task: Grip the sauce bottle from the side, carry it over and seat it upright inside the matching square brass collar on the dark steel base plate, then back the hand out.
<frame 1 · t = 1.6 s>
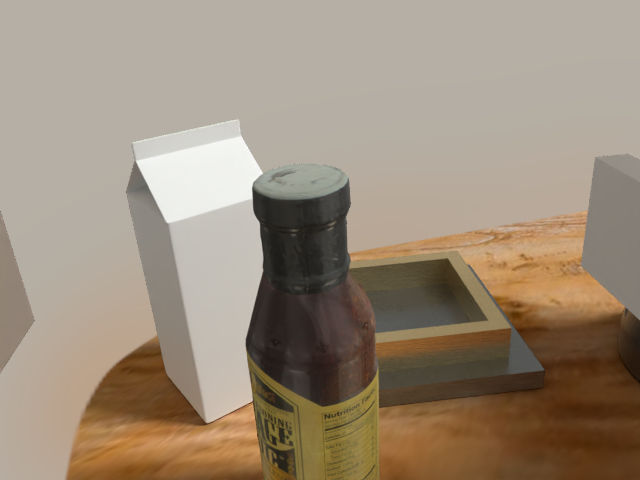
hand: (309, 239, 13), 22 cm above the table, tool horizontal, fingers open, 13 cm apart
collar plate: (403, 336, 48), on the table
milk carton: (229, 381, 45), on the table
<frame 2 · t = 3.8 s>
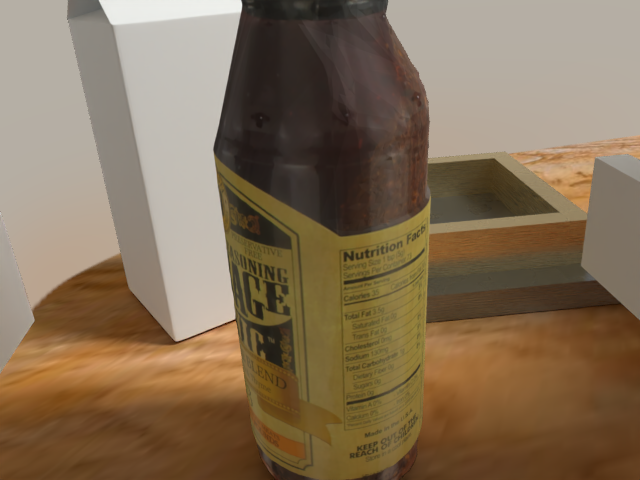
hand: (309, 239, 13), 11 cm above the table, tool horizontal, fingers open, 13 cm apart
sauce bottle: (340, 455, 22), on the table
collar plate: (439, 249, 37), on the table
milk carton: (210, 298, 34), on the table
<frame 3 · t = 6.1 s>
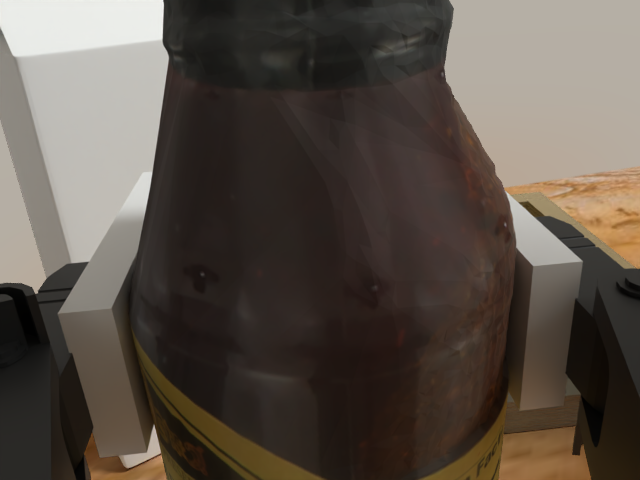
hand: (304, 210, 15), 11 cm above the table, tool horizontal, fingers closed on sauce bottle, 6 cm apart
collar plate: (465, 319, 30), on the table
milk carton: (179, 391, 27), on the table
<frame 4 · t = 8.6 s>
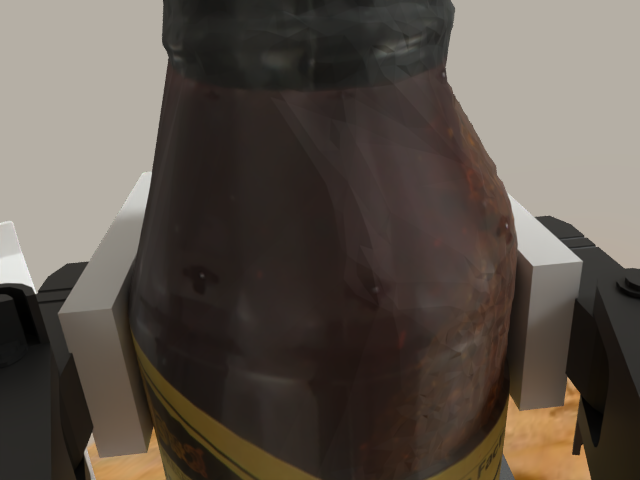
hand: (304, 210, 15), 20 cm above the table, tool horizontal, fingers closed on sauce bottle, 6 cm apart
when the fingers open (14 cm above the table, at t = 11.1 s): sauce bottle drops 1 cm, resting on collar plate.
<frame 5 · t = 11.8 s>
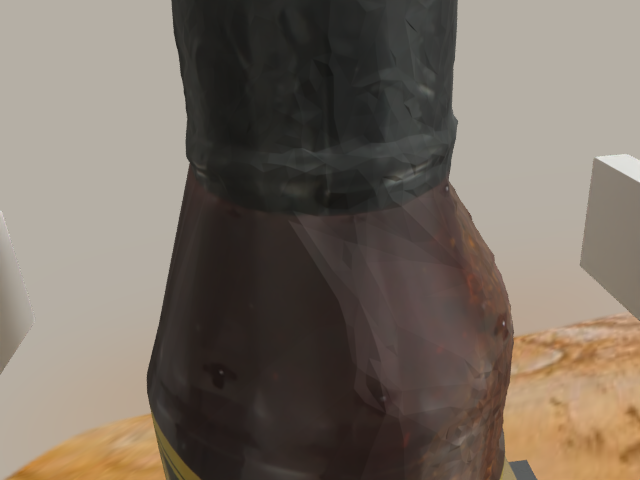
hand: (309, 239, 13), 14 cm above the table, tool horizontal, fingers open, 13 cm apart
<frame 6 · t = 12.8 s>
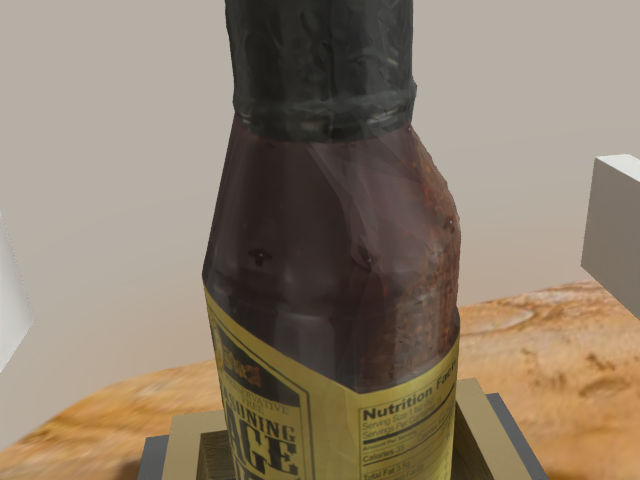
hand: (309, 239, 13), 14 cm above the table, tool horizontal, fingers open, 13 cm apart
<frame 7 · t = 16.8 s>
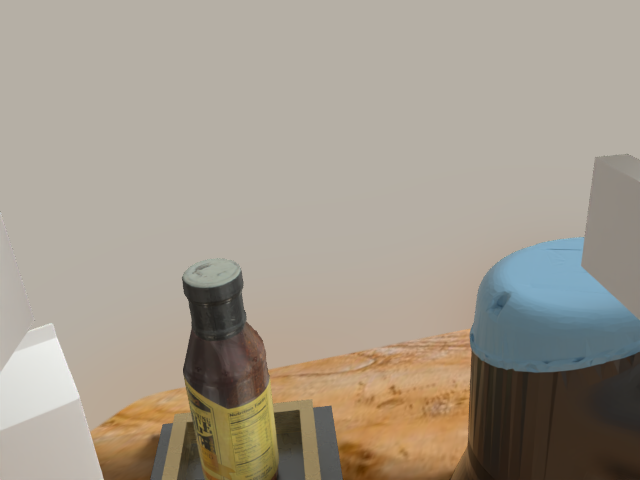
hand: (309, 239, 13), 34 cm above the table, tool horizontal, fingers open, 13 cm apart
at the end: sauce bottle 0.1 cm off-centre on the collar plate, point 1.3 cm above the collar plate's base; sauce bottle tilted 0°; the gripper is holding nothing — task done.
